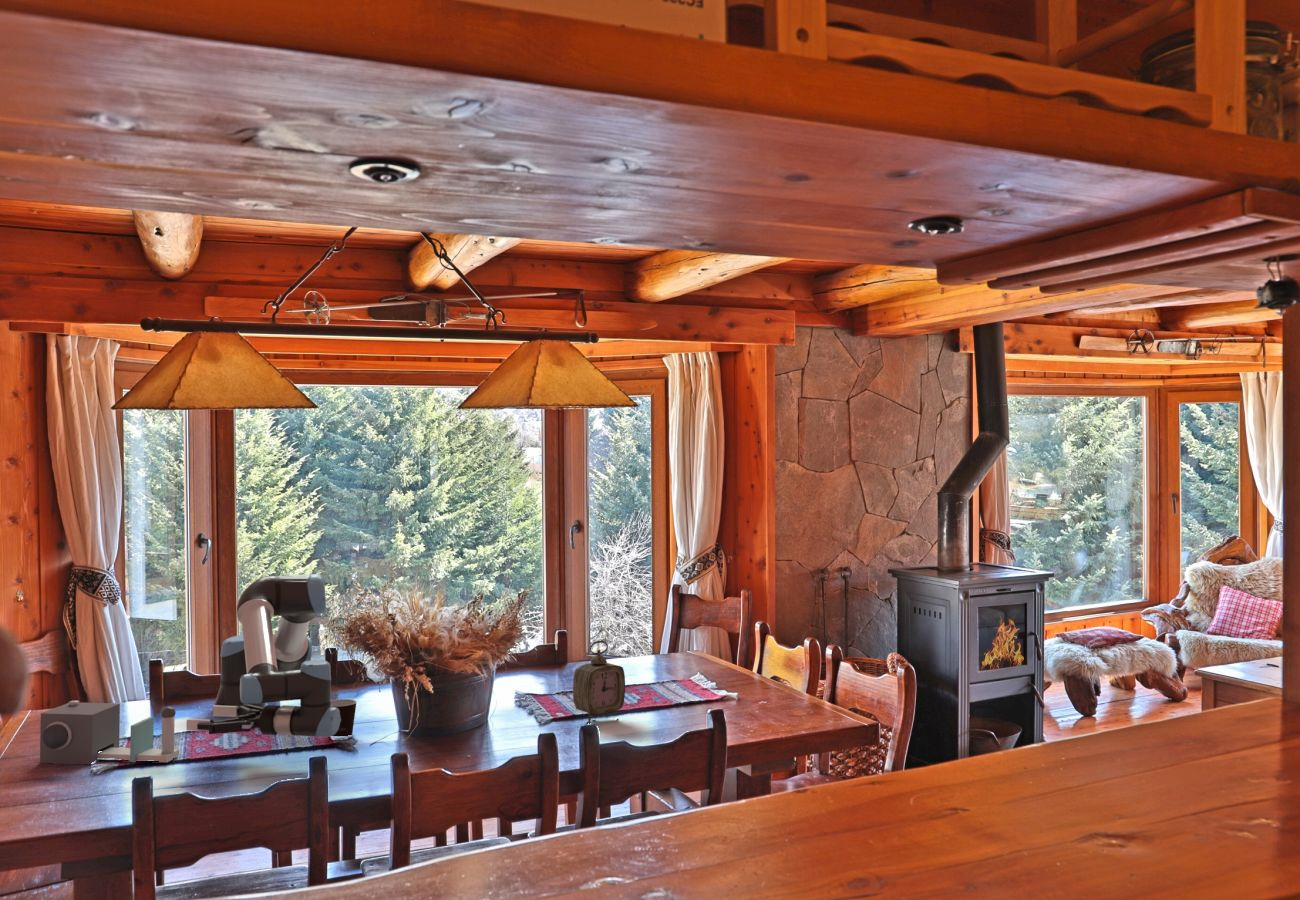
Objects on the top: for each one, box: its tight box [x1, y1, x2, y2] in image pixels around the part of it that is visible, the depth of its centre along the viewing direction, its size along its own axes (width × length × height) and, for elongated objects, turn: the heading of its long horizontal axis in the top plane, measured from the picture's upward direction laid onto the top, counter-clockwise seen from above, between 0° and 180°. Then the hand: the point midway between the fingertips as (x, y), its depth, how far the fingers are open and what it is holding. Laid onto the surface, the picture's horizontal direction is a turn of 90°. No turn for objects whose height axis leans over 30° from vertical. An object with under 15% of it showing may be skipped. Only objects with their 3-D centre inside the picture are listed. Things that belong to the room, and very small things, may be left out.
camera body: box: [39, 700, 121, 766], centre depth 264 cm, size 14×14×14 cm
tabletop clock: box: [572, 640, 626, 725], centre depth 307 cm, size 14×9×25 cm, turn 131°
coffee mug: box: [330, 698, 357, 736], centre depth 288 cm, size 12×9×10 cm
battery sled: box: [98, 706, 180, 763], centre depth 265 cm, size 19×9×14 cm, turn 87°
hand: (200, 717), depth 263 cm, fingers open, 13 cm apart
